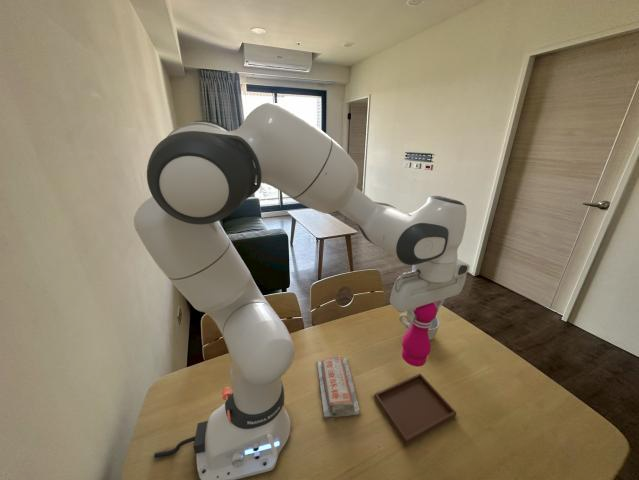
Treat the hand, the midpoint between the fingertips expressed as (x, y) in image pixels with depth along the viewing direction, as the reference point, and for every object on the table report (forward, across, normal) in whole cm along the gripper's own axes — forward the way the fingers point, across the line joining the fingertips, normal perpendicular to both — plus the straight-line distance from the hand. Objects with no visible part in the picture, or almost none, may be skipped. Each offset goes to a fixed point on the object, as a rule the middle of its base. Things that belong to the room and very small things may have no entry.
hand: (422, 315), depth 63 cm
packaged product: (+29, -18, +10) cm, 35 cm away
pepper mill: (+14, 0, 0) cm, 14 cm away
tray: (+29, -1, -4) cm, 29 cm away
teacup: (+29, +21, +18) cm, 40 cm away
